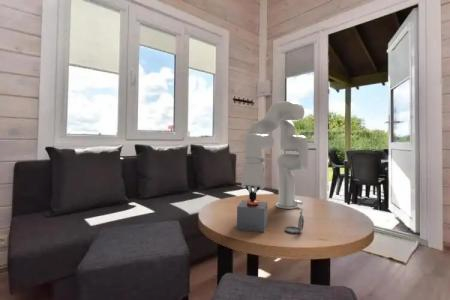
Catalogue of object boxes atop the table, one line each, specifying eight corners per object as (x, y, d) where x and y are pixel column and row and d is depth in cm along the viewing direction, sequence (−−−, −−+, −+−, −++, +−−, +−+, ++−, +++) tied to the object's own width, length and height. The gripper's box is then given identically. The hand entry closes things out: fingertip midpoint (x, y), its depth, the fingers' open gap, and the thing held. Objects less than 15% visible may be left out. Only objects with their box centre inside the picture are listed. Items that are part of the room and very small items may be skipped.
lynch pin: (259, 224, 117) (259, 199, 117) (257, 228, 112) (258, 202, 111) (247, 223, 119) (247, 199, 118) (245, 227, 113) (245, 201, 113)
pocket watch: (282, 228, 113) (283, 206, 112) (301, 228, 114) (301, 206, 113) (289, 235, 105) (289, 211, 104) (308, 235, 105) (309, 211, 105)
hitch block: (267, 223, 119) (267, 202, 119) (264, 232, 108) (264, 208, 107) (242, 221, 123) (242, 200, 122) (236, 229, 111) (237, 206, 111)
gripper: (270, 160, 116) (270, 200, 116) (238, 159, 120) (238, 198, 120) (269, 162, 108) (268, 204, 109) (235, 161, 112) (234, 201, 113)
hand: (252, 200), depth 115 cm, fingers closed
